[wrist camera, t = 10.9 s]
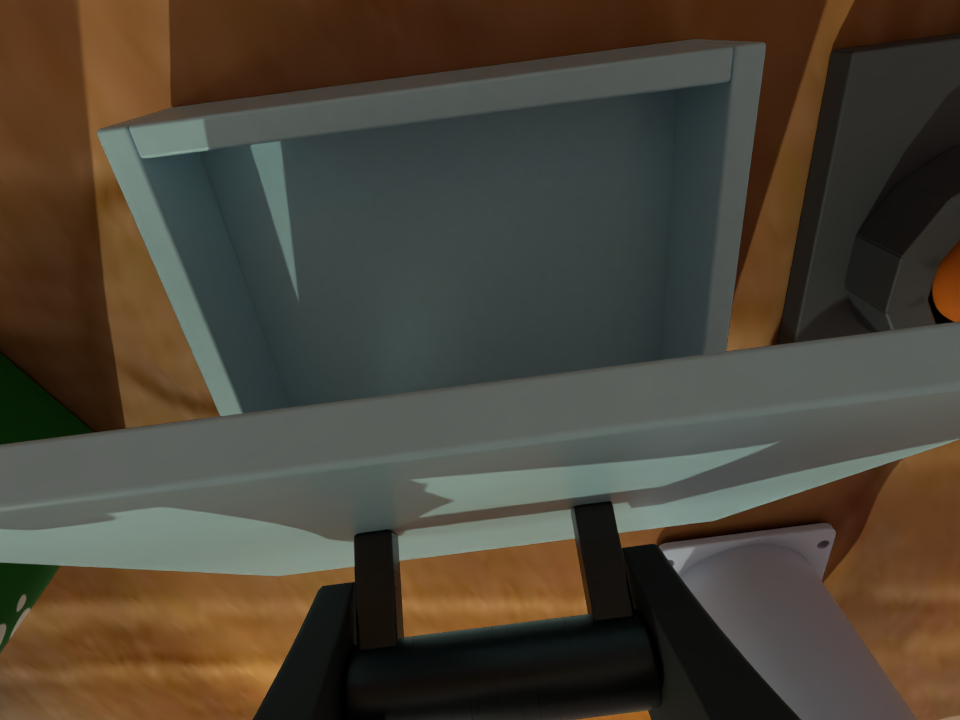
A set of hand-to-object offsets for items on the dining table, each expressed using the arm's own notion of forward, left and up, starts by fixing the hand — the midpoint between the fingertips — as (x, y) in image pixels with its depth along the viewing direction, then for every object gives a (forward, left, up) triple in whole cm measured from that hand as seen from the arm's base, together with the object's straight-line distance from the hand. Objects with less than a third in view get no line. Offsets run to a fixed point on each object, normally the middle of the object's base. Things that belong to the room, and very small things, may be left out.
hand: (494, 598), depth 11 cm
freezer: (+2, 0, -10) cm, 10 cm away
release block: (+2, -16, -10) cm, 19 cm away
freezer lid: (+1, 0, -2) cm, 2 cm away
